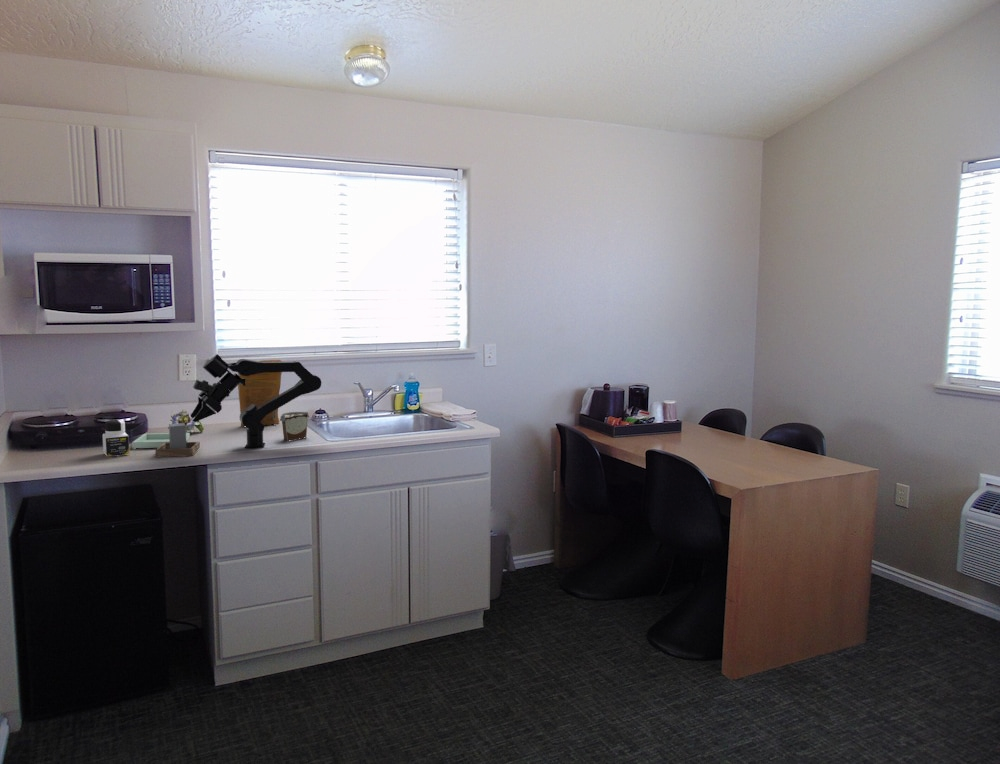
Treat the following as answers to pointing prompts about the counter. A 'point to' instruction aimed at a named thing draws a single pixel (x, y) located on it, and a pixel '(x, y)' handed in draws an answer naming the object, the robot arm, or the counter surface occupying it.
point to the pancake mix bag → (260, 392)
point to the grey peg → (177, 436)
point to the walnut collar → (177, 450)
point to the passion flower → (186, 421)
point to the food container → (294, 425)
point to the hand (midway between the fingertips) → (192, 419)
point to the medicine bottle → (115, 438)
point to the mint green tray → (153, 440)
